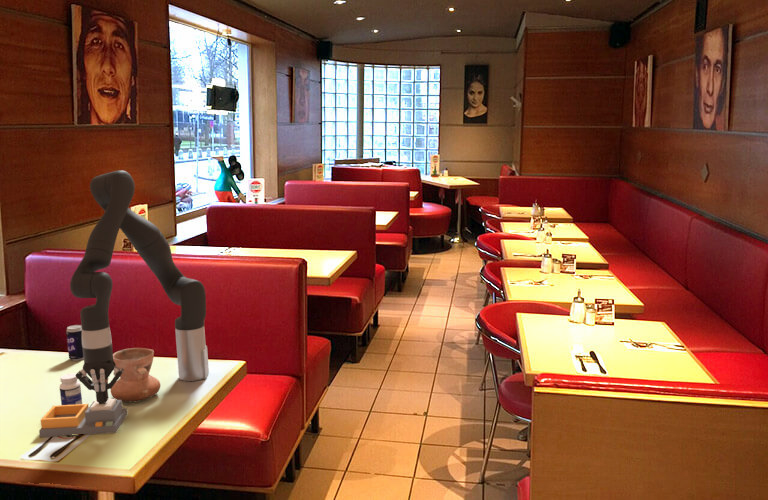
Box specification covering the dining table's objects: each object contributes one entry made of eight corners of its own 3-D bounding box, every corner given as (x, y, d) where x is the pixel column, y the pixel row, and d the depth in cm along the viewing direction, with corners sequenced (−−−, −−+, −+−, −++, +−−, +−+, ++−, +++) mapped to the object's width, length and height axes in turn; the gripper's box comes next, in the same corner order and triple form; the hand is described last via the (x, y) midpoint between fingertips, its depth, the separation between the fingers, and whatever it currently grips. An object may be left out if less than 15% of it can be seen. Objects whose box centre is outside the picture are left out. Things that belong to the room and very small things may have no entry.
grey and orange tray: (127, 414, 205) (125, 396, 204) (116, 432, 193) (114, 413, 192) (55, 418, 203) (53, 400, 202) (39, 437, 191) (37, 418, 190)
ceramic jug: (169, 399, 215) (166, 354, 213) (121, 411, 207) (117, 364, 204) (149, 384, 229) (145, 341, 227) (103, 394, 221) (99, 350, 219)
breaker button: (117, 411, 201) (115, 398, 200) (111, 419, 195) (110, 406, 195) (97, 413, 200) (96, 399, 200) (91, 421, 195) (90, 407, 194)
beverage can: (72, 356, 257) (69, 324, 255) (88, 356, 258) (85, 324, 255) (66, 361, 252) (63, 329, 249) (83, 361, 252) (79, 328, 250)
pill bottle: (61, 406, 212) (57, 374, 210) (81, 402, 215) (78, 371, 213) (62, 412, 207) (58, 380, 205) (83, 408, 210) (80, 377, 208)
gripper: (125, 338, 198) (130, 396, 201) (76, 340, 197) (82, 399, 200) (118, 346, 191) (123, 407, 194) (67, 348, 190) (73, 409, 193)
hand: (102, 402), depth 197 cm, fingers closed
